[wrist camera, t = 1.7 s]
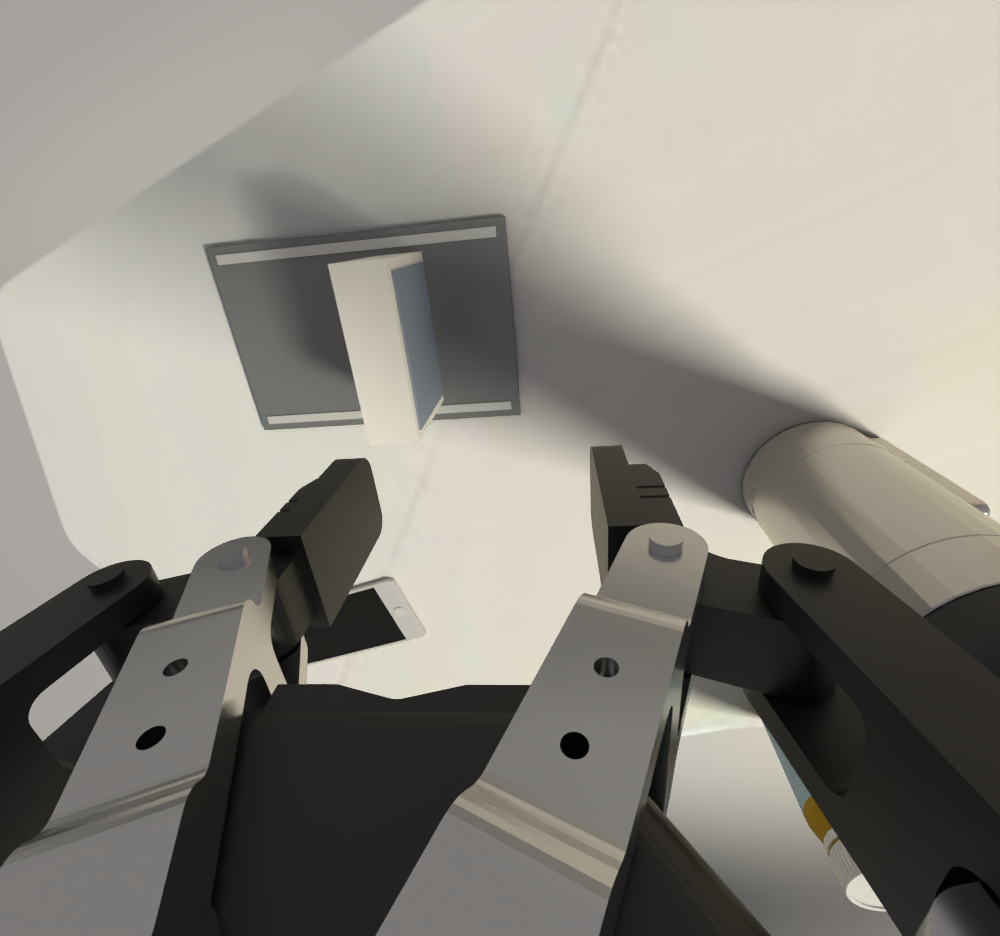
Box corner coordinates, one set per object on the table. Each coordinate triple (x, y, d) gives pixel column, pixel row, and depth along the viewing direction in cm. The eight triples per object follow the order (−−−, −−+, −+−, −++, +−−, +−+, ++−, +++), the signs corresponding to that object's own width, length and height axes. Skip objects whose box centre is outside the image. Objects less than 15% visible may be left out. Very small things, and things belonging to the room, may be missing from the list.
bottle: (751, 723, 49) (830, 912, 35) (759, 673, 46) (848, 859, 32) (827, 722, 48) (937, 916, 34) (839, 671, 45) (966, 862, 31)
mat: (504, 216, 30) (504, 216, 30) (520, 413, 36) (520, 415, 36) (208, 247, 33) (204, 248, 32) (267, 428, 38) (263, 430, 38)
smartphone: (428, 629, 47) (426, 637, 46) (296, 662, 51) (292, 670, 50) (394, 573, 44) (391, 580, 43) (258, 612, 48) (252, 619, 47)
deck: (423, 251, 31) (388, 258, 24) (445, 399, 36) (420, 443, 28) (374, 256, 32) (324, 264, 25) (402, 402, 36) (366, 446, 29)
